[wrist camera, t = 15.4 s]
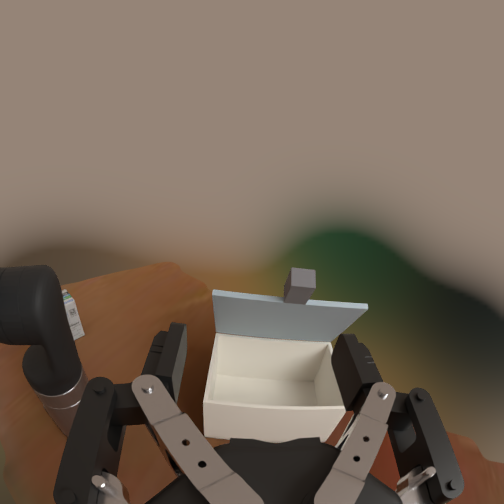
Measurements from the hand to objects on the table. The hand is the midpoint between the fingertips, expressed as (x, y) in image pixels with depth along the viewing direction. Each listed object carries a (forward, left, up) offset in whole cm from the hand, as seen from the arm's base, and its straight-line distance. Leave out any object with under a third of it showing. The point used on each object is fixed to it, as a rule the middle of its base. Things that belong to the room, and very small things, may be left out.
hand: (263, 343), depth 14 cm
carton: (+6, +21, -37) cm, 43 cm away
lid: (+6, +23, -16) cm, 29 cm away
